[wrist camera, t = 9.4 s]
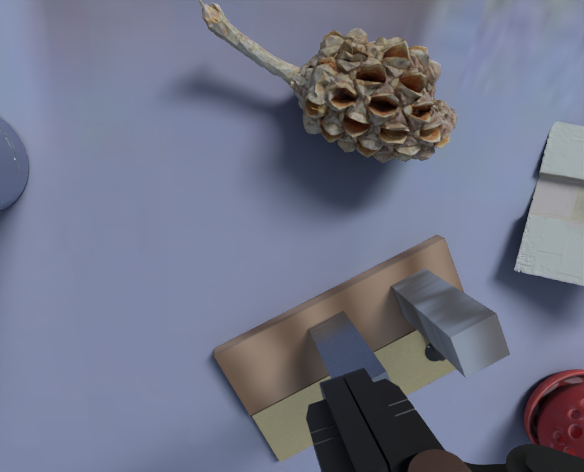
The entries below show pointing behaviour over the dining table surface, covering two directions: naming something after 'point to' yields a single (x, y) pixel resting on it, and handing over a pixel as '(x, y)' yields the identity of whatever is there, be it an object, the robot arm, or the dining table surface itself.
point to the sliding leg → (345, 348)
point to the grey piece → (557, 210)
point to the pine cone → (360, 91)
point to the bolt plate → (293, 409)
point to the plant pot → (558, 413)
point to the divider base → (367, 325)
